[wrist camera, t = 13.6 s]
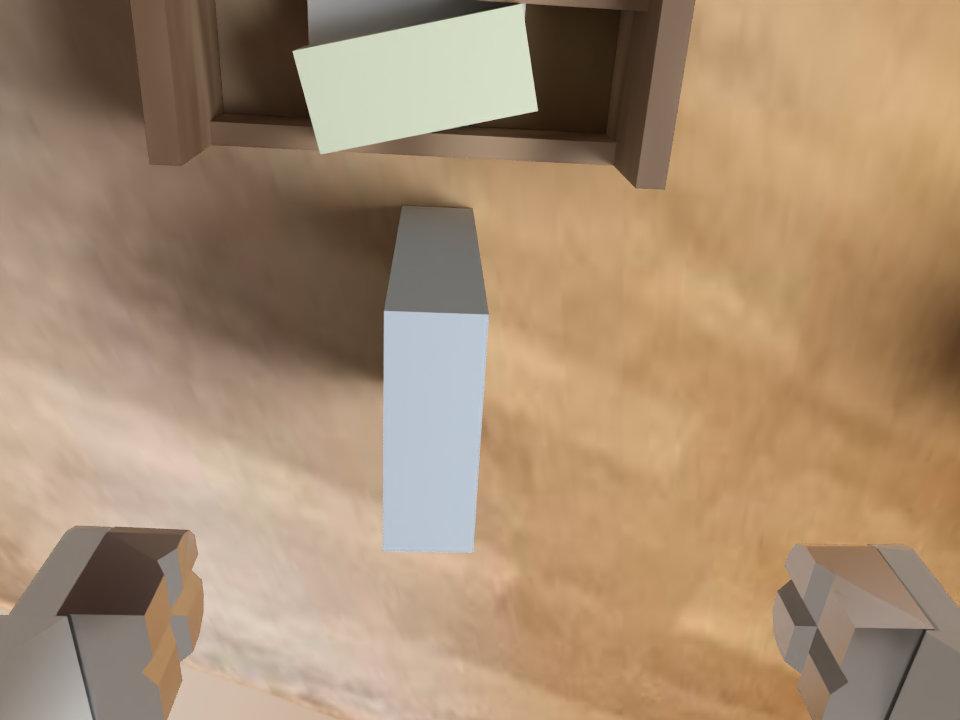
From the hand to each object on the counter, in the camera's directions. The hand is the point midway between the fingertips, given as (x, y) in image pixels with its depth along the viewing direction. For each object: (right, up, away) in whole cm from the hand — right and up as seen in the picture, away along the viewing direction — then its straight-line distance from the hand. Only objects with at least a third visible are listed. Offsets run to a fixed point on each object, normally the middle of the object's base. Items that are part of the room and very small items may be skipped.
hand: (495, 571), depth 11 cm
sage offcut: (-3, +15, +23) cm, 28 cm away
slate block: (-3, +6, +30) cm, 31 cm away
